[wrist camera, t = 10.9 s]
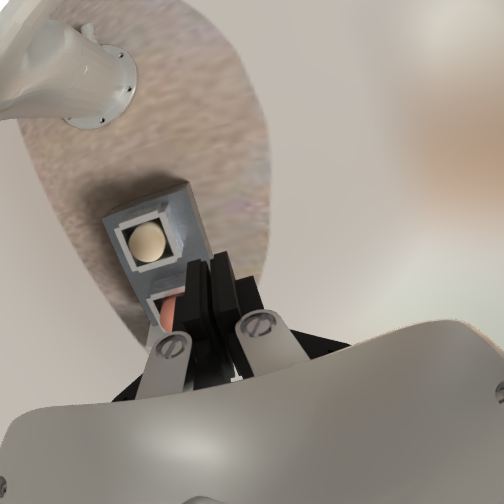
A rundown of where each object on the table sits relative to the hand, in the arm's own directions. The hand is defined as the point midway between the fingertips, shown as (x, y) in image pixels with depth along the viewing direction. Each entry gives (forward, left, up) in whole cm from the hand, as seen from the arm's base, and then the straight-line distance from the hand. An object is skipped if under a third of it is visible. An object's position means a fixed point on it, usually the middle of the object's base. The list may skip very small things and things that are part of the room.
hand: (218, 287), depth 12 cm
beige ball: (+4, -9, -24) cm, 26 cm away
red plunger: (+14, -9, -22) cm, 28 cm away
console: (+9, -9, -29) cm, 32 cm away
